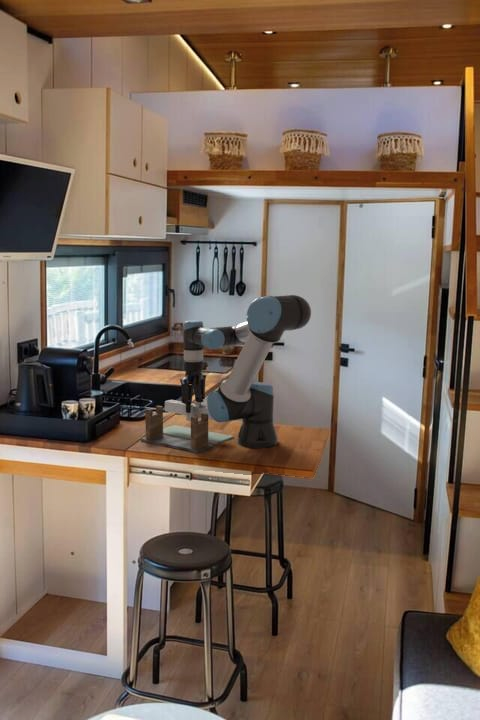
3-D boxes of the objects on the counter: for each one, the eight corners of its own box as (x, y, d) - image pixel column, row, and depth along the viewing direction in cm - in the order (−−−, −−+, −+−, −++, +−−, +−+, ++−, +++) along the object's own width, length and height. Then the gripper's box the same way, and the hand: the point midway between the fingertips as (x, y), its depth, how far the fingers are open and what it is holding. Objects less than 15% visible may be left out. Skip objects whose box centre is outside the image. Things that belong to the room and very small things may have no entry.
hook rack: (213, 447, 255) (213, 414, 253) (198, 453, 248) (198, 419, 246) (156, 435, 271) (156, 404, 269) (140, 440, 264) (140, 408, 262)
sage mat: (233, 437, 269) (233, 436, 269) (215, 444, 259) (215, 443, 259) (174, 426, 286) (174, 425, 286) (154, 432, 276) (154, 431, 276)
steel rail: (223, 418, 265) (223, 408, 265) (216, 420, 262) (216, 410, 262) (171, 409, 280) (171, 399, 280) (164, 411, 277) (164, 401, 276)
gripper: (199, 356, 277) (199, 413, 281) (171, 362, 263) (171, 422, 267) (214, 358, 273) (214, 416, 276) (186, 364, 259) (187, 425, 262)
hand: (193, 419), depth 271 cm, fingers closed on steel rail, 4 cm apart
